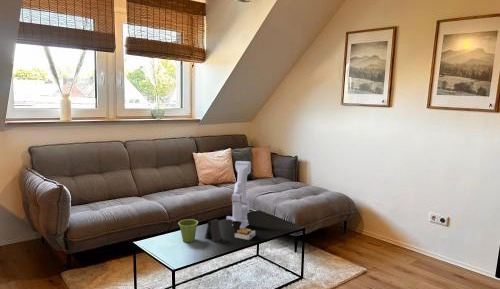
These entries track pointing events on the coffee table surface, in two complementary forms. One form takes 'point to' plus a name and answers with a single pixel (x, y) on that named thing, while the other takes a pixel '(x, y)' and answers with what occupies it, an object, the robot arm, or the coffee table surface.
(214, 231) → the dark tent-shaped stand
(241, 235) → the coupler channel
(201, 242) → the coffee table surface
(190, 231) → the plant pot
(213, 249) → the coffee table surface
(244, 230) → the block
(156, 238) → the coffee table surface
